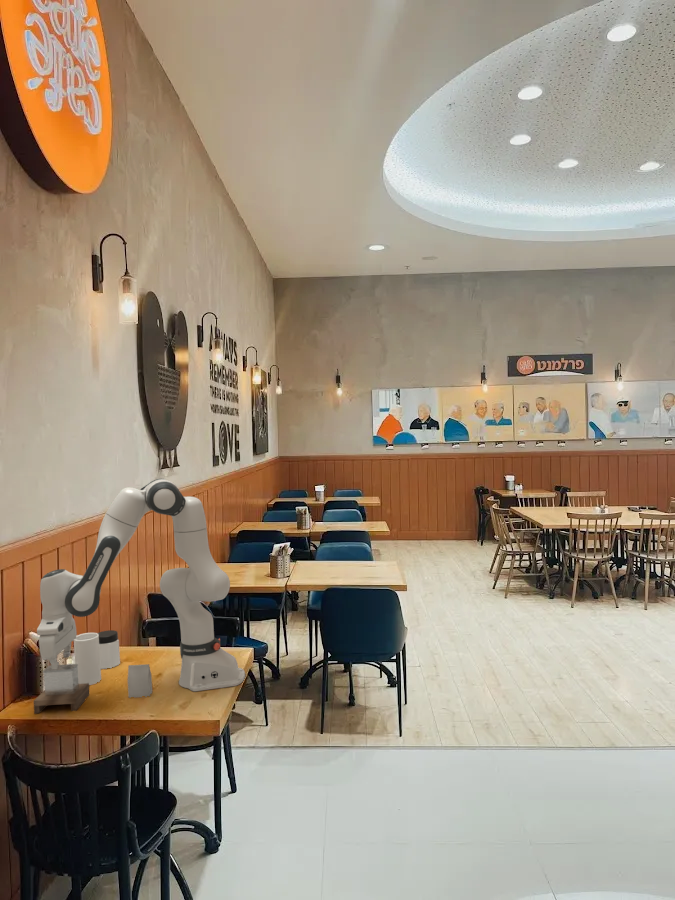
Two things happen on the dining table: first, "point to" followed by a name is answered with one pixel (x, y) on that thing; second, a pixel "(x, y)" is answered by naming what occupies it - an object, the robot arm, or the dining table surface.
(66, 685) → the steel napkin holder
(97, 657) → the cup
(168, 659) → the dining table surface
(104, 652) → the jar
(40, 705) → the walnut shelf
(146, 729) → the dining table surface
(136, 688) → the grey tapered block
